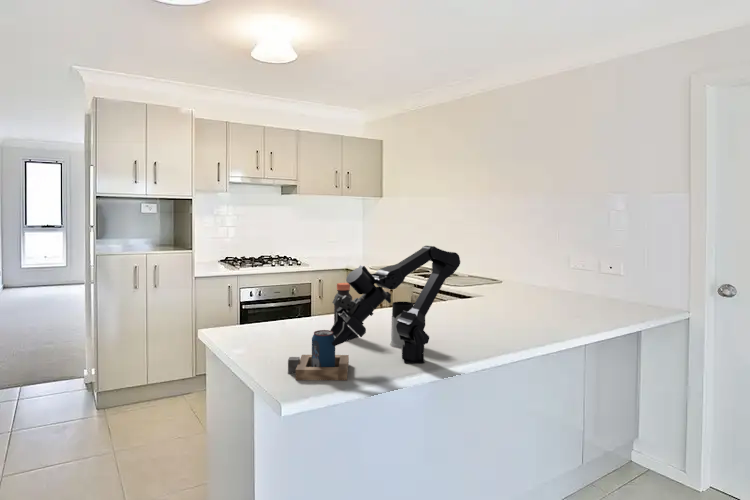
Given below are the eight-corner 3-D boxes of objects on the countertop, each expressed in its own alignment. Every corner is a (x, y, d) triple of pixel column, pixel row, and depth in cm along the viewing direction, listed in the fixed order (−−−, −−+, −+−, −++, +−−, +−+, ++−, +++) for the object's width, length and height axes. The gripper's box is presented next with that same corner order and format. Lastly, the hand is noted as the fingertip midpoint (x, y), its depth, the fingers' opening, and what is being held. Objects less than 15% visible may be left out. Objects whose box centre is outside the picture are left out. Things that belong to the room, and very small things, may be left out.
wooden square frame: (348, 364, 158) (348, 351, 158) (346, 380, 144) (347, 366, 143) (292, 363, 158) (292, 351, 158) (284, 379, 143) (284, 366, 143)
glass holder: (394, 348, 176) (394, 306, 175) (382, 338, 190) (383, 298, 189) (417, 347, 179) (418, 305, 177) (404, 337, 192) (405, 298, 191)
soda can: (336, 368, 154) (337, 329, 153) (332, 376, 147) (333, 335, 146) (314, 367, 155) (314, 329, 154) (309, 375, 148) (309, 334, 147)
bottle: (349, 338, 189) (349, 285, 187) (331, 337, 190) (332, 284, 188) (353, 334, 195) (354, 282, 194) (336, 333, 197) (337, 282, 195)
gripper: (343, 280, 159) (308, 315, 158) (355, 289, 141) (315, 330, 140) (367, 304, 162) (333, 339, 160) (382, 316, 144) (343, 356, 142)
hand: (330, 340), depth 150 cm, fingers open, 9 cm apart
